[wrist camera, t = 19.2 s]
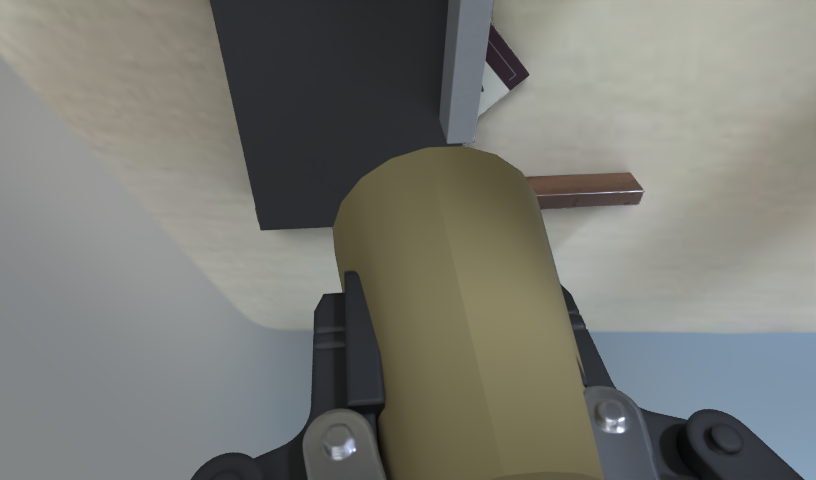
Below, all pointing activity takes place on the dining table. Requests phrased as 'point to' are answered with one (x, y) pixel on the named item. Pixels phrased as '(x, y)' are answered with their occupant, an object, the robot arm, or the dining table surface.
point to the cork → (466, 322)
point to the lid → (345, 92)
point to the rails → (585, 190)
